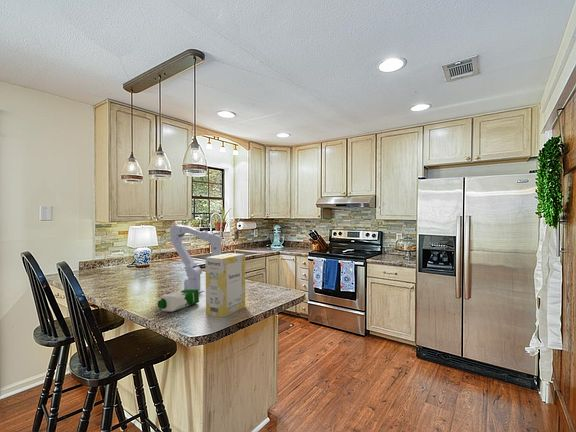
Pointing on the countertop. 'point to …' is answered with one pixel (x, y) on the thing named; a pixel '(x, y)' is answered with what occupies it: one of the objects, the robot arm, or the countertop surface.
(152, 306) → the countertop surface
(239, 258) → the pasta box
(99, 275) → the countertop surface
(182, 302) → the soya milk
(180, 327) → the countertop surface
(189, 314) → the countertop surface
